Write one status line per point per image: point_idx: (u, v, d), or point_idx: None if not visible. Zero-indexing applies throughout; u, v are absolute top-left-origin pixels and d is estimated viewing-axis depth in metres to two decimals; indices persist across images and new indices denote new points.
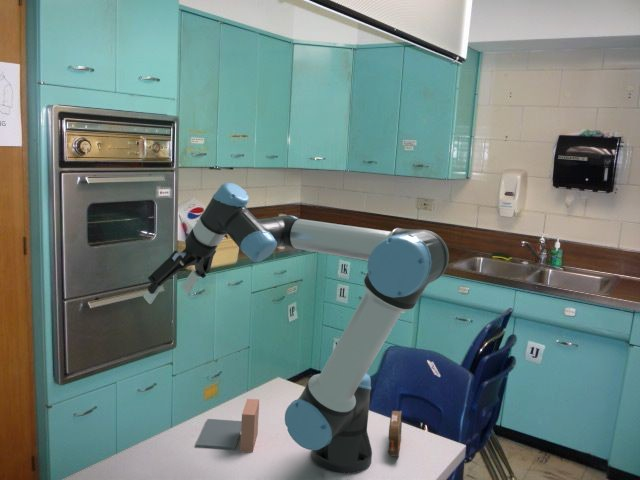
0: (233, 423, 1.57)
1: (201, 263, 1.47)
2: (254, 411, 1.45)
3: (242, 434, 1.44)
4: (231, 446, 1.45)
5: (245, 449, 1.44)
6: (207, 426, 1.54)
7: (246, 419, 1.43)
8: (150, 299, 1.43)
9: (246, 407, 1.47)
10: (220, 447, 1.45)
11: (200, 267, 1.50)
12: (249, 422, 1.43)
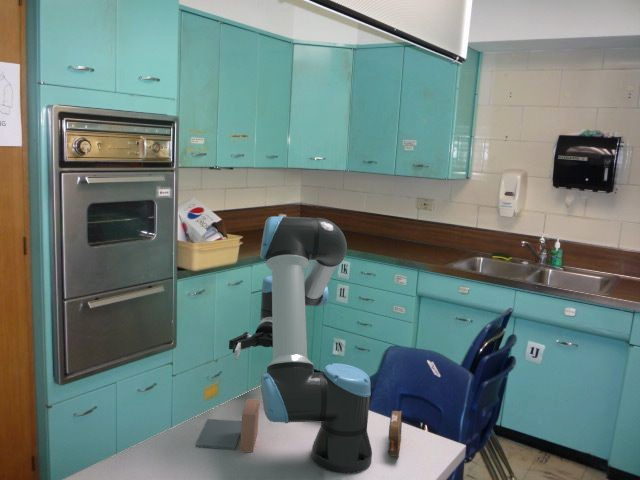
0: (233, 423, 1.57)
1: None
2: (254, 411, 1.45)
3: (242, 434, 1.44)
4: (231, 446, 1.45)
5: (245, 449, 1.44)
6: (207, 426, 1.54)
7: (246, 419, 1.43)
8: (235, 350, 1.63)
9: (246, 407, 1.47)
10: (220, 447, 1.45)
11: None
12: (249, 422, 1.43)
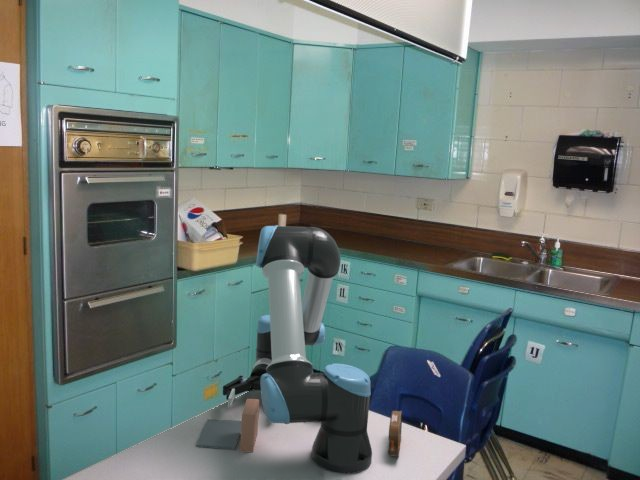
0: (233, 423, 1.57)
1: None
2: (254, 411, 1.45)
3: (242, 434, 1.44)
4: (231, 446, 1.45)
5: (245, 449, 1.44)
6: (207, 426, 1.54)
7: (246, 419, 1.43)
8: (228, 397, 1.59)
9: (246, 407, 1.47)
10: (220, 447, 1.45)
11: None
12: (249, 422, 1.43)
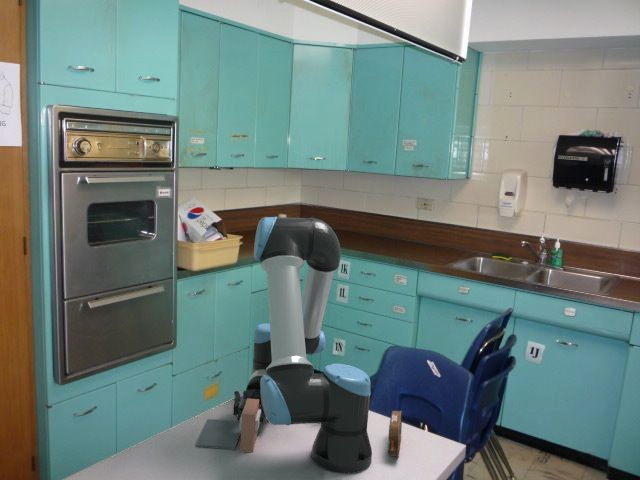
0: (233, 423, 1.57)
1: None
2: (254, 411, 1.45)
3: (242, 434, 1.44)
4: (231, 446, 1.45)
5: (245, 449, 1.44)
6: (207, 426, 1.54)
7: (246, 419, 1.43)
8: None
9: (246, 407, 1.47)
10: (220, 447, 1.45)
11: (262, 401, 1.57)
12: (249, 422, 1.43)
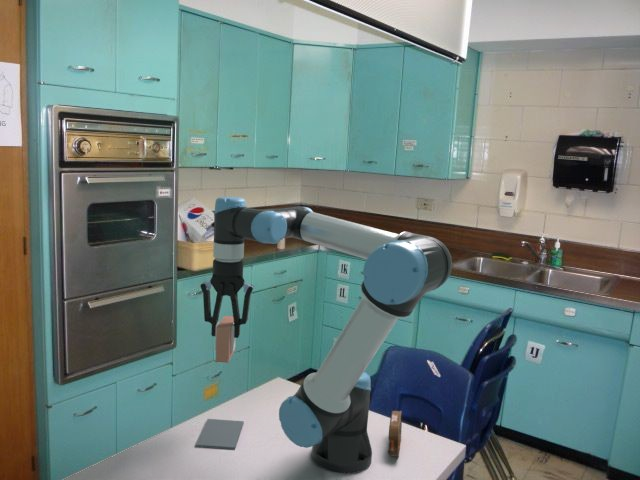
0: (233, 423, 1.57)
1: (232, 295, 1.43)
2: (227, 355, 1.43)
3: None
4: (231, 446, 1.45)
5: None
6: (207, 426, 1.54)
7: None
8: (215, 344, 1.45)
9: (218, 346, 1.43)
10: (220, 447, 1.45)
11: (233, 306, 1.43)
12: None
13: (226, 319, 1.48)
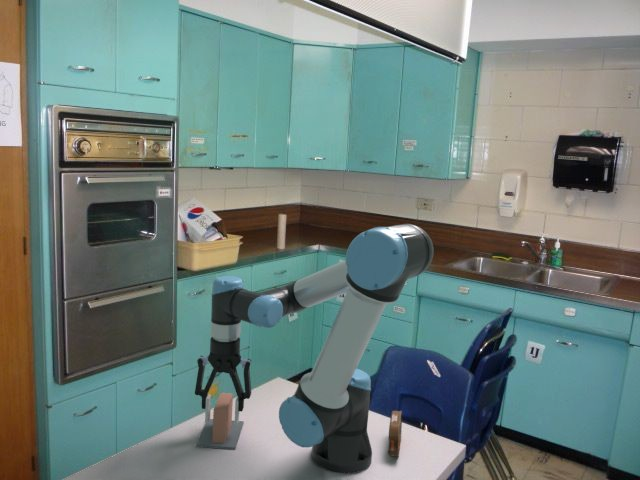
0: (233, 423, 1.57)
1: (231, 372, 1.46)
2: (223, 436, 1.46)
3: None
4: (231, 446, 1.45)
5: None
6: (207, 426, 1.54)
7: None
8: None
9: (214, 427, 1.46)
10: (220, 447, 1.45)
11: (234, 382, 1.47)
12: None
13: (223, 398, 1.52)
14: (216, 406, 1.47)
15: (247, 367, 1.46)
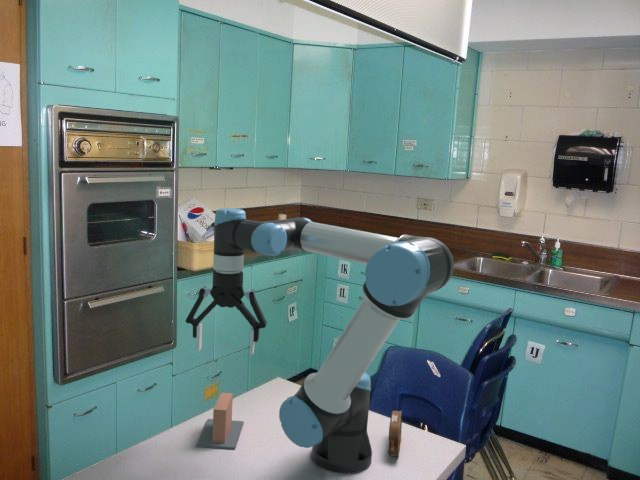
0: (233, 423, 1.57)
1: (237, 305, 1.43)
2: (223, 436, 1.46)
3: None
4: (231, 446, 1.45)
5: None
6: (207, 426, 1.54)
7: None
8: None
9: (214, 427, 1.46)
10: (220, 447, 1.45)
11: (244, 314, 1.43)
12: None
13: (223, 398, 1.52)
14: (216, 406, 1.47)
15: (252, 297, 1.43)
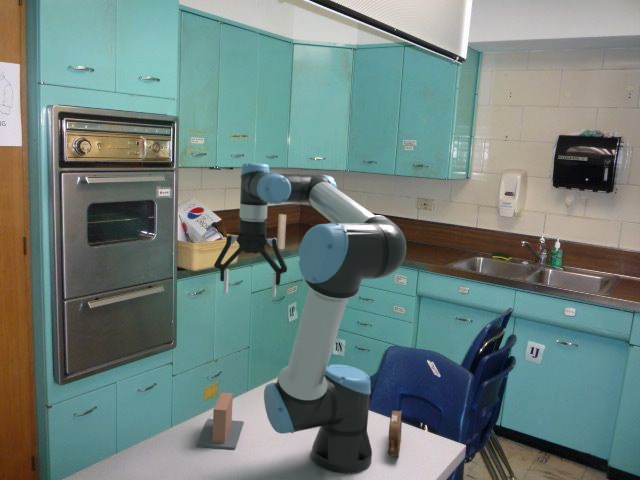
0: (233, 423, 1.57)
1: (261, 250, 1.57)
2: (223, 436, 1.46)
3: None
4: (231, 446, 1.45)
5: None
6: (207, 426, 1.54)
7: None
8: None
9: (214, 427, 1.46)
10: (220, 447, 1.45)
11: (267, 259, 1.58)
12: None
13: (223, 398, 1.52)
14: (216, 406, 1.47)
15: (274, 243, 1.57)
